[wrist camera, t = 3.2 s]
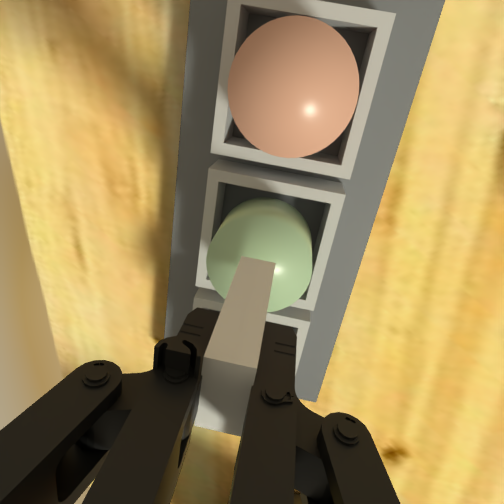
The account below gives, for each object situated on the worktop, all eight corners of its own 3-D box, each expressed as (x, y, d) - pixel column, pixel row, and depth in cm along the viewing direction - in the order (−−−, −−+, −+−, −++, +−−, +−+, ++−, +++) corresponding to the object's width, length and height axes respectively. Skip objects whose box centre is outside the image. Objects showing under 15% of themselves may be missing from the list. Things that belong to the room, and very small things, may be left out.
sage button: (300, 290, 22) (299, 322, 20) (214, 272, 23) (201, 300, 20) (321, 207, 20) (323, 229, 17) (225, 188, 20) (212, 206, 18)
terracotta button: (335, 154, 19) (339, 168, 16) (233, 135, 19) (220, 145, 16) (364, 37, 17) (376, 28, 14) (249, 17, 17) (237, 4, 14)
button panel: (315, 383, 30) (316, 429, 26) (170, 350, 31) (149, 391, 27) (433, 3, 19) (466, -17, 15) (204, -35, 20) (177, -64, 16)
